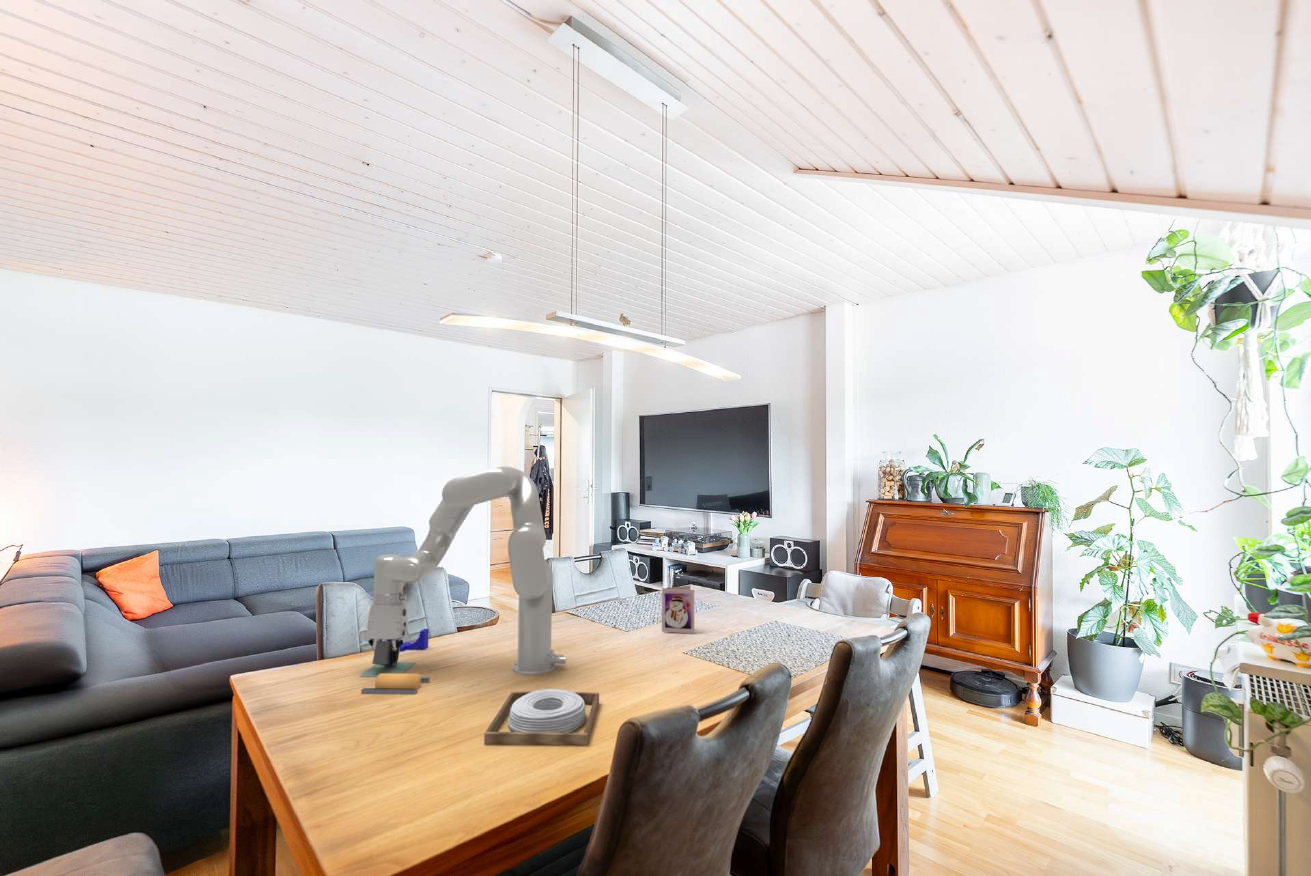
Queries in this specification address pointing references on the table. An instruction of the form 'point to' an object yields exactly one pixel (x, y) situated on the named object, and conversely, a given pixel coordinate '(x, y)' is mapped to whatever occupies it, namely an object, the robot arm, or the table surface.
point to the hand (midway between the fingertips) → (386, 662)
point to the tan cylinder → (398, 681)
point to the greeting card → (678, 609)
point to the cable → (547, 712)
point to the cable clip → (416, 642)
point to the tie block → (383, 653)
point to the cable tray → (539, 737)
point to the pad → (388, 669)
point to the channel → (393, 689)
